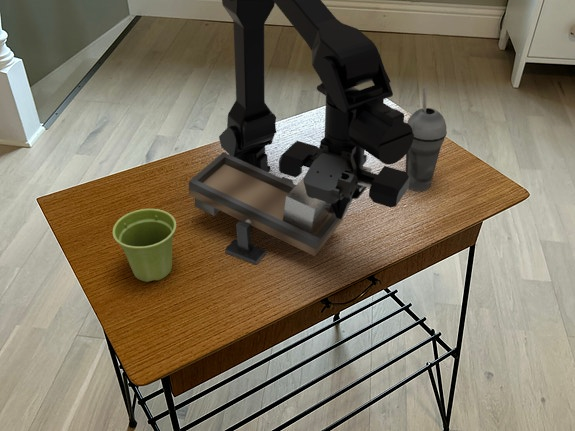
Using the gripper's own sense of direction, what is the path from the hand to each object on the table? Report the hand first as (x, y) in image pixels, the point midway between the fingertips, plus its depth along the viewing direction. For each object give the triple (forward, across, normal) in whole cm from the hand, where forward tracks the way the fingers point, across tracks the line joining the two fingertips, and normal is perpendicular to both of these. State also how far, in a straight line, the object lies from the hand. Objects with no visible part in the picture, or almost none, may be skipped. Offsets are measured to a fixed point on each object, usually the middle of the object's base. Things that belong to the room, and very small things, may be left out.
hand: (340, 217), depth 94 cm
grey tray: (+6, -14, 0) cm, 15 cm away
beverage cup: (+8, +5, +25) cm, 27 cm away
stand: (+8, -13, 0) cm, 16 cm away
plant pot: (+8, -24, -17) cm, 31 cm away
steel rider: (+3, -6, 0) cm, 7 cm away
